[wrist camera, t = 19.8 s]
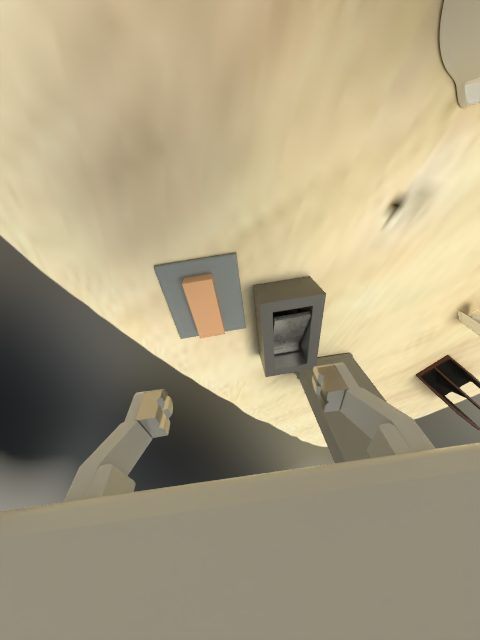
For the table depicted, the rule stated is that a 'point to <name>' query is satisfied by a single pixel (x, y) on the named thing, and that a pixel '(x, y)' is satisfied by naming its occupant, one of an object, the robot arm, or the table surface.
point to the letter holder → (449, 382)
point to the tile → (204, 304)
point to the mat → (225, 285)
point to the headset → (471, 320)
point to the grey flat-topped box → (339, 413)
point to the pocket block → (288, 297)
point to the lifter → (289, 331)
